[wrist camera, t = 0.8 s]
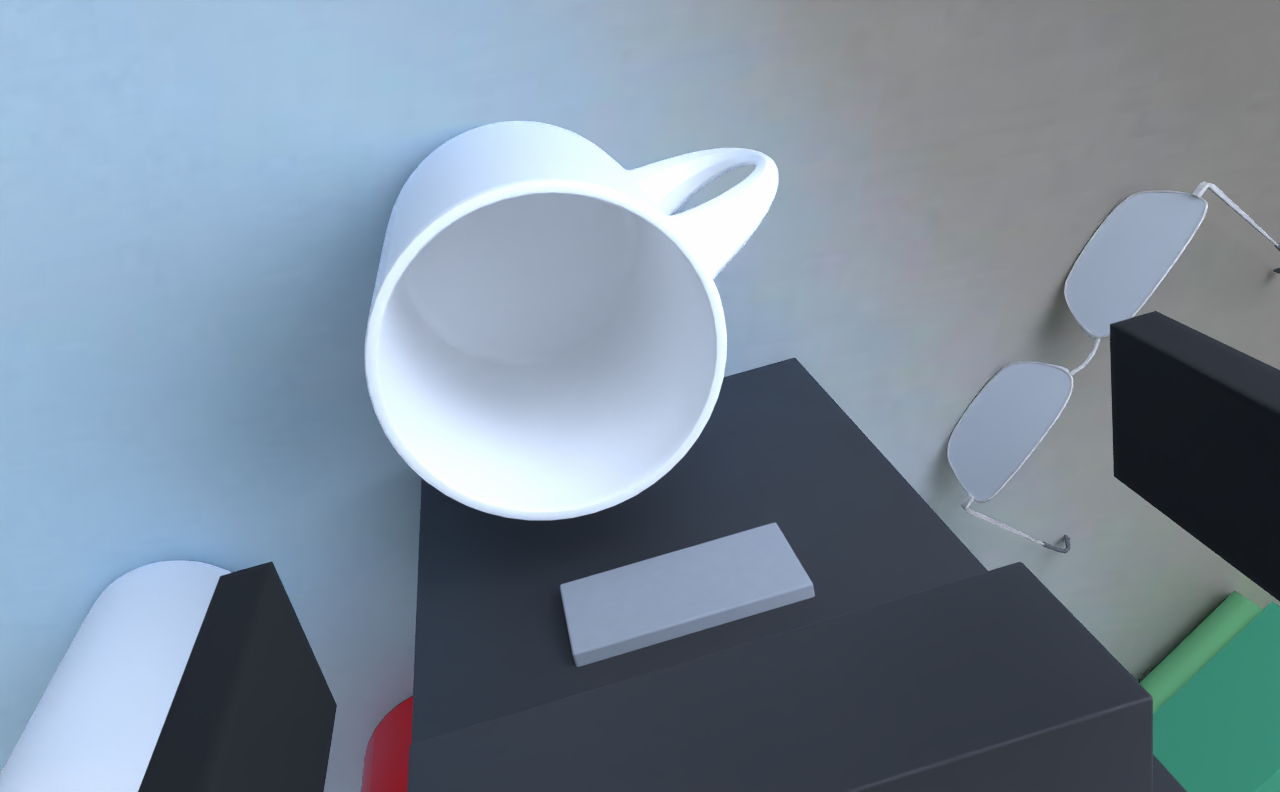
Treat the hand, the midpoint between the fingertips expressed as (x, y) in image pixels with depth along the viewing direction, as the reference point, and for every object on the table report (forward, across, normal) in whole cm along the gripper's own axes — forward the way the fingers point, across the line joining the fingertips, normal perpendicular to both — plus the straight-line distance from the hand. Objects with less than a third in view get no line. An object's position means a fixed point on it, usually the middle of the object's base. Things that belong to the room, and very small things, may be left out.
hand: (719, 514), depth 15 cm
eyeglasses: (+20, +19, -11) cm, 30 cm away
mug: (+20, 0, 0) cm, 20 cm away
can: (+20, -17, -11) cm, 29 cm away
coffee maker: (+20, 0, -8) cm, 22 cm away
